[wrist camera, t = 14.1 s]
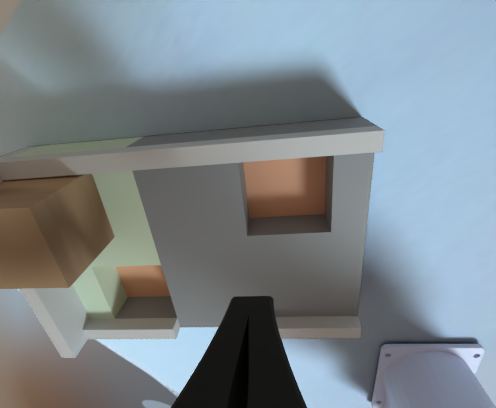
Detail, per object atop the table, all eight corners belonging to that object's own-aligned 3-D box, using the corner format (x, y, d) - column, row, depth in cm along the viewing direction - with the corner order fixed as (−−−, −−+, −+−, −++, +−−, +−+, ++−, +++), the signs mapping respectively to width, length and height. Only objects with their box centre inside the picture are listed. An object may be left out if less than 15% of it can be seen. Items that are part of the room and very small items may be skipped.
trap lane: (347, 299, 22) (367, 359, 17) (100, 303, 24) (62, 357, 20) (362, 117, 16) (398, 138, 11) (27, 146, 18) (-53, 174, 14)
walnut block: (114, 236, 18) (69, 287, 14) (50, 239, 18) (-12, 289, 14) (91, 170, 16) (29, 207, 12) (18, 175, 16) (-64, 211, 12)
